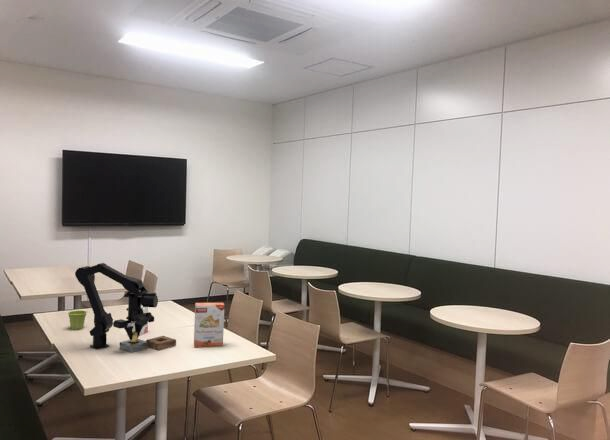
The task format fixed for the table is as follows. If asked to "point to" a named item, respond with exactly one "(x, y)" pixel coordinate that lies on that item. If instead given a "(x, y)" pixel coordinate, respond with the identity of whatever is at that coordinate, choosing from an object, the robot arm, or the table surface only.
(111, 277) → the robot arm
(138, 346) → the socket block
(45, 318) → the table surface
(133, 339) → the brass peg
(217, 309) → the cracker box
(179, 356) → the table surface
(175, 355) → the table surface
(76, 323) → the plant pot
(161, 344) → the brown square frame
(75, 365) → the table surface
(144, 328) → the ink cartridge box
